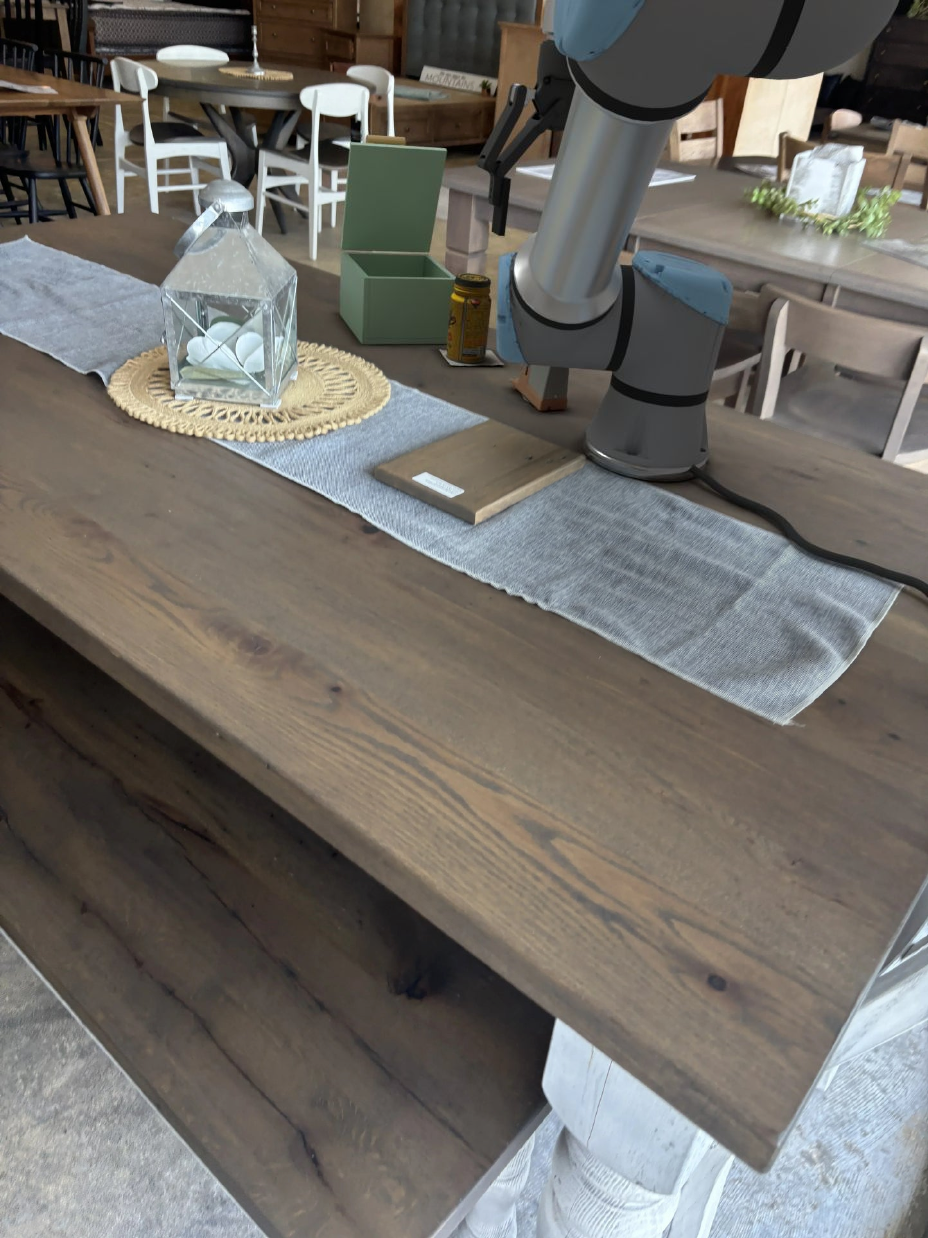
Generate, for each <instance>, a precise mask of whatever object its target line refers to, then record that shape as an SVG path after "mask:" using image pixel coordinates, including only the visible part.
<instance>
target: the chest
mask: <svg viewBox="0 0 928 1238" xmlns="http://www.w3.org/2000/svg"><path fill="white" fill-rule="evenodd" d="M339 277H340V279H339V281H340V282H339V284H340V285H339V315H340V317H341V318H342V320H343V321H344V323H345V324H346V325H347V326H348V328H349V329H350V330H351V331H352V333H353V335H354V336H355V337H356V338H357V340H358V342H359V343H360V344H361V345H447V337H448V326H449V315H450V304H451V303H450V301H451V295H452V294H453V293H454V291H455V290H454V287H455V278H456V276H455V275H454V274H453V273H451V272H450V271H449V270H448V269H447V268H445V267H444V266H443V265H442V264H441V263H440V262H438V261H437V260H436V259H435V258H434V257H432V256H431V255H430V254H428V253H424V254H423V253H398V252H397V253H391V252H358V251H357V252H354V251H353V252H350V251H341V252H340V275H339Z"/></svg>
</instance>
